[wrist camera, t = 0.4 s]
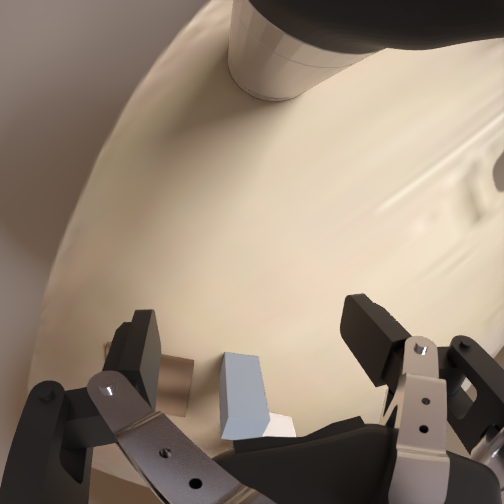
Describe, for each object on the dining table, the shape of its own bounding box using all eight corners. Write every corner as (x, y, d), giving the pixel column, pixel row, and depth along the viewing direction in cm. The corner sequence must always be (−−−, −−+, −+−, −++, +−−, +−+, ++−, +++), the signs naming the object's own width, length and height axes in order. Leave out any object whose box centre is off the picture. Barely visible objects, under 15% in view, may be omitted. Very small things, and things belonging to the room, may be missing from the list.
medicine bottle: (255, 407, 41) (265, 470, 30) (291, 416, 43) (307, 474, 32) (233, 429, 43) (239, 488, 32) (269, 437, 45) (279, 492, 34)
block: (224, 352, 37) (228, 417, 26) (258, 356, 38) (270, 419, 27) (218, 375, 38) (221, 439, 28) (250, 379, 39) (259, 441, 29)
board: (108, 342, 35) (106, 346, 34) (194, 360, 37) (193, 365, 36) (112, 397, 38) (111, 401, 38) (185, 412, 41) (185, 417, 40)
